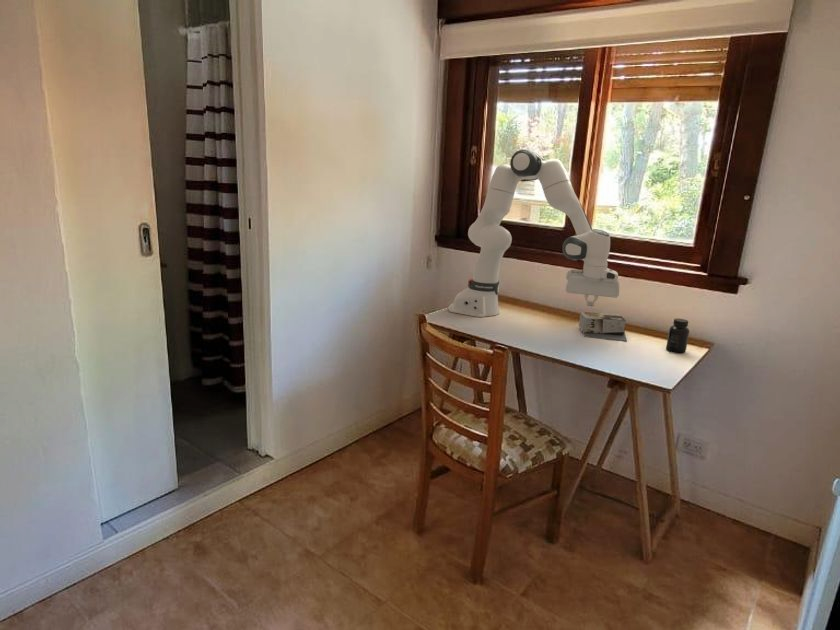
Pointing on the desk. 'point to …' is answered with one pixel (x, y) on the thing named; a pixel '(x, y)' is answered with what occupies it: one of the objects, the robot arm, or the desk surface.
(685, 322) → the supplement bottle
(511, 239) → the robot arm
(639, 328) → the desk surface
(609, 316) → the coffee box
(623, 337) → the mat
